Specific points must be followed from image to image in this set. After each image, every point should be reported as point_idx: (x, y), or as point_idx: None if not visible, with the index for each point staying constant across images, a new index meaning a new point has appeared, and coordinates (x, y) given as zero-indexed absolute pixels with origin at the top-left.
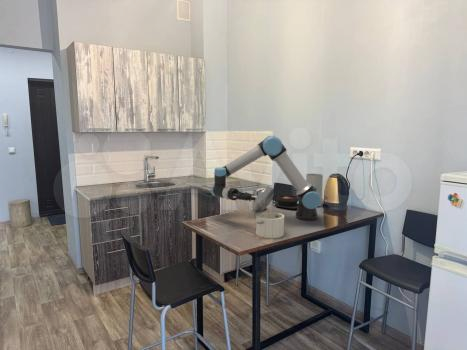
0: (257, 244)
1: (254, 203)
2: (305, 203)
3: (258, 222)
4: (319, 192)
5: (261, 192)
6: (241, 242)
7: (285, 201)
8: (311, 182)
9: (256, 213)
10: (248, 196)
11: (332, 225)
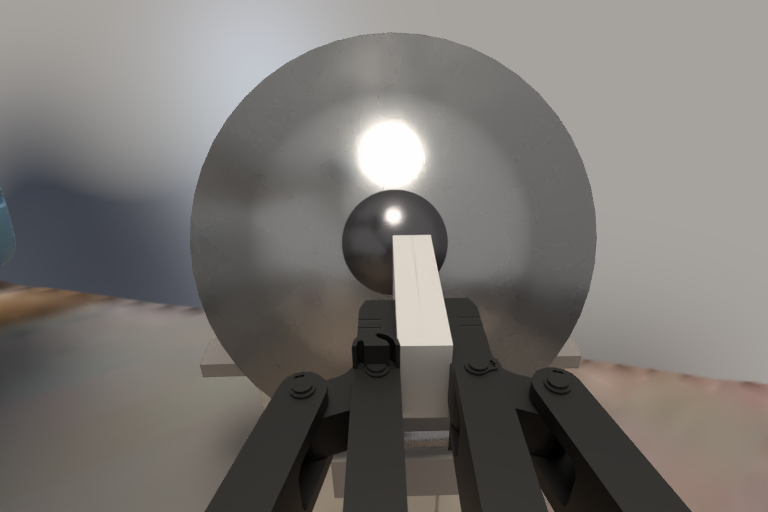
0: (621, 388)
1: (589, 257)
2: (11, 224)
3: (573, 344)
4: None
5: (532, 93)
6: (726, 476)
7: None
8: None
9: (428, 457)
10: (506, 386)
11: (12, 300)
